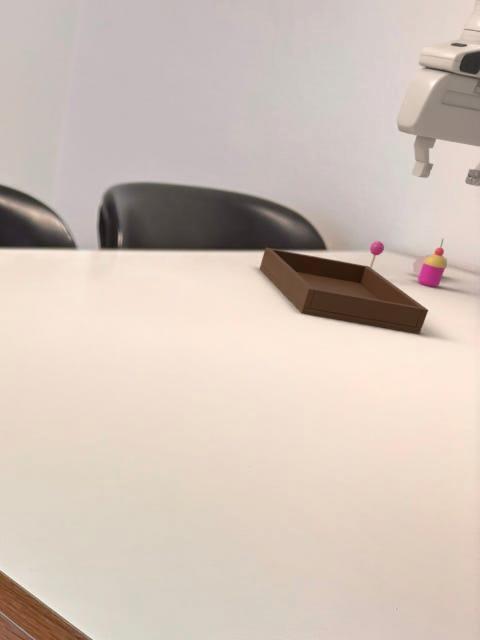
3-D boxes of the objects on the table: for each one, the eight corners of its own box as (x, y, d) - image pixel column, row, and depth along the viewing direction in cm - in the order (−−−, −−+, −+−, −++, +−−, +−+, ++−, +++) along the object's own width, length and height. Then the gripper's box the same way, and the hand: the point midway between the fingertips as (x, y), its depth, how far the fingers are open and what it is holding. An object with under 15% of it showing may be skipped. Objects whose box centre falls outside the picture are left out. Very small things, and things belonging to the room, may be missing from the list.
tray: (361, 287, 134) (369, 266, 133) (419, 334, 116) (428, 310, 115) (259, 268, 133) (265, 247, 132) (301, 312, 115) (309, 288, 114)
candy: (409, 267, 155) (424, 223, 152) (462, 282, 151) (479, 238, 148) (358, 274, 142) (374, 226, 139) (415, 291, 138) (432, 243, 135)
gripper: (529, 73, 140) (486, 185, 147) (411, 46, 132) (372, 166, 139) (567, 79, 135) (520, 195, 142) (447, 52, 127) (404, 176, 134)
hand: (446, 181), depth 140 cm, fingers open, 8 cm apart
